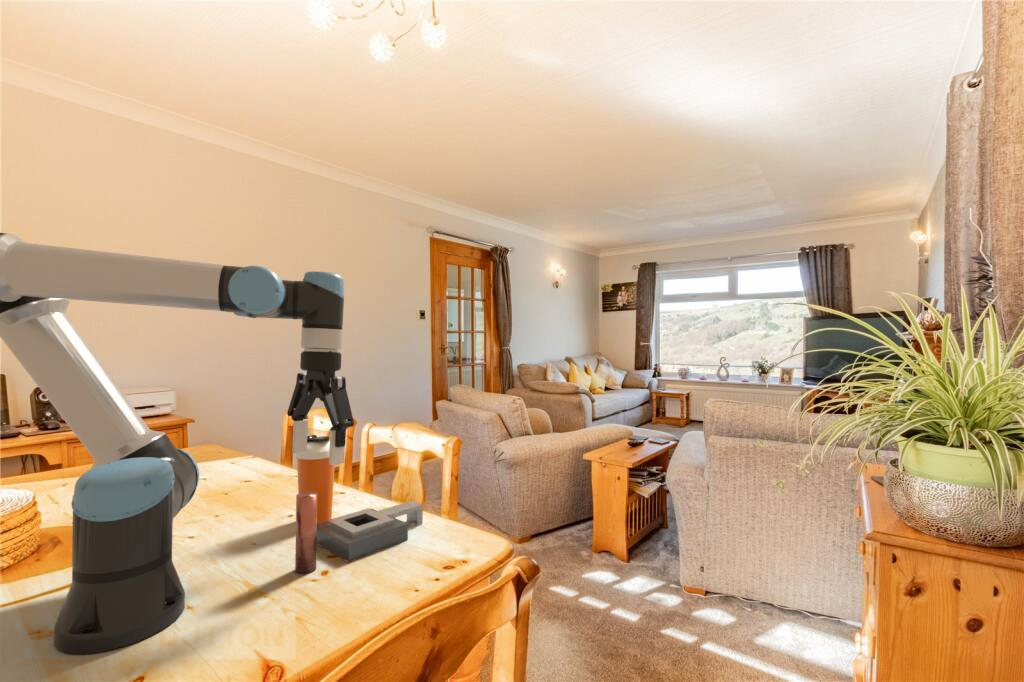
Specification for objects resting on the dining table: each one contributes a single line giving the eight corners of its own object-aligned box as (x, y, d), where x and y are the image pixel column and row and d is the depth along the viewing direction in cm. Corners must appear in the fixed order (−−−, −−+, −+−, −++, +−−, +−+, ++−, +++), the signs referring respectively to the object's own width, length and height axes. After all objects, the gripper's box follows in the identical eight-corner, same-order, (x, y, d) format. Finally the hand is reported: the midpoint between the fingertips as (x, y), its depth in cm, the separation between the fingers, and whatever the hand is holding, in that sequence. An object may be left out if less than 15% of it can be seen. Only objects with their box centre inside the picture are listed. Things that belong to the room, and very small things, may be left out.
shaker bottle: (321, 529, 107) (322, 441, 107) (286, 526, 109) (287, 439, 109) (342, 515, 116) (344, 434, 116) (310, 512, 118) (311, 432, 118)
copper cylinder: (300, 576, 86) (301, 499, 86) (291, 570, 88) (292, 494, 88) (319, 569, 89) (320, 494, 89) (310, 563, 91) (311, 490, 91)
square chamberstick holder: (348, 561, 92) (348, 543, 92) (313, 541, 101) (313, 525, 101) (407, 539, 102) (407, 523, 102) (371, 523, 111) (371, 508, 111)
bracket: (352, 555, 94) (352, 532, 95) (327, 541, 101) (327, 520, 101) (430, 526, 110) (430, 507, 110) (404, 516, 116) (404, 497, 116)
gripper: (375, 352, 89) (371, 465, 89) (306, 349, 105) (302, 445, 104) (340, 352, 83) (335, 472, 83) (272, 348, 99) (268, 450, 98)
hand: (317, 457), depth 94 cm, fingers open, 13 cm apart
